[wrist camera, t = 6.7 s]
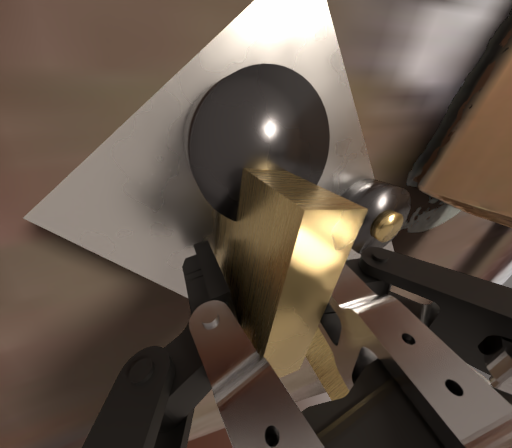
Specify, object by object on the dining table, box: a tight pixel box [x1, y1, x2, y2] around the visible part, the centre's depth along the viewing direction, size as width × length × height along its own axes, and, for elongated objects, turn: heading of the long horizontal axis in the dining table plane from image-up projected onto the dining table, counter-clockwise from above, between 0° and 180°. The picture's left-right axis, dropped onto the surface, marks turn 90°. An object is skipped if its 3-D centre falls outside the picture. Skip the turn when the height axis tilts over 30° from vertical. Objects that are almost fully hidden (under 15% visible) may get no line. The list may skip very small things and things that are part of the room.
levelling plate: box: [24, 0, 411, 298], centre depth 14 cm, size 14×25×5 cm, turn 37°
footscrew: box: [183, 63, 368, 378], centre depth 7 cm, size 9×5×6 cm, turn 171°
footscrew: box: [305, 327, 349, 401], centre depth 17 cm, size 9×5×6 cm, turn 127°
